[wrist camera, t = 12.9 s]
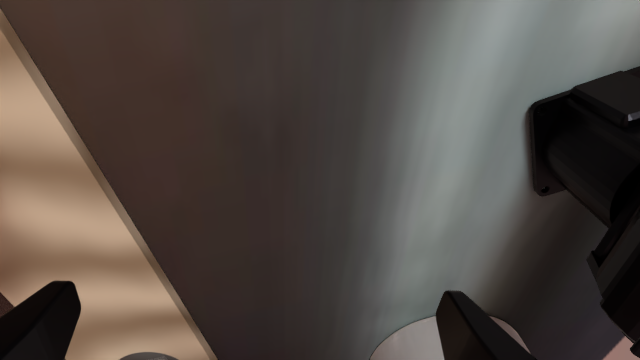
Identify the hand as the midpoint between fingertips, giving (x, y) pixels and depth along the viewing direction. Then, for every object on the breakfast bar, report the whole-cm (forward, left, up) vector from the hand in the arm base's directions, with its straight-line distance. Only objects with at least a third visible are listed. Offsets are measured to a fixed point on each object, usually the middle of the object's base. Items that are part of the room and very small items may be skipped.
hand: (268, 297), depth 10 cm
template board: (-5, +16, -13) cm, 22 cm away
